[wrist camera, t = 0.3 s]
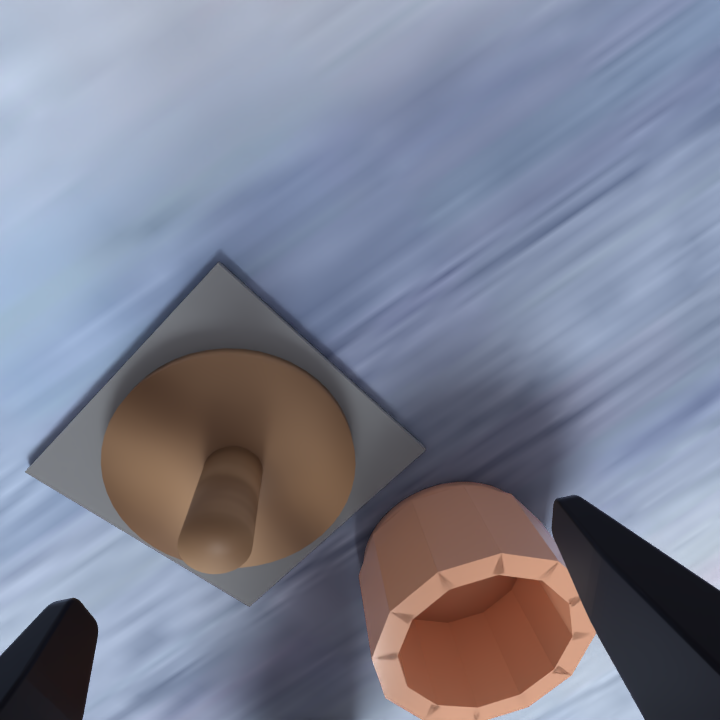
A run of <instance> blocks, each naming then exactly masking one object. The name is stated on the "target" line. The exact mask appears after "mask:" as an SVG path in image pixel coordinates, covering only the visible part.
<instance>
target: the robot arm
mask: <svg viewBox="0 0 720 720" xmlns="http://www.w3.org/2000/svg"><path fill="white" fill-rule="evenodd" d="M552 533H553V537H554V540H555V542H556V544H557V547H558V549H559V551H560V554H561V556H562V558H563V560H564V563H565V565H566V567H567V570H568V572H569V574H570V577H571V579H572V581H573V583H574V586H575V588H576V590H577V593H578V595H579V597H580V600H581V602H582V604H583V606H584V609H585V611H586V613H587V615H588V617H589V620H590V622H591V624H592V625H593V627H594V629H595V631H596V633H597V635H598V637H599V638H600V640H601V642H602V644H603V646H604V647H605V649H606V651H607V653H608V655H609V656H610V658H611V660H612V662H613V664H614V665H615V667H616V669H617V671H618V672H619V674H620V676H621V678H622V680H623V681H624V683H625V685H626V687H627V689H628V690H629V692H630V694H631V696H632V698H633V699H634V701H635V703H636V705H637V707H638V708H639V710H640V712H641V714H642V715H643V717H644V719H645V720H720V590H718V589H717V588H715V587H714V586H712V585H711V584H709V583H708V582H706V581H705V580H703V579H702V578H700V577H699V576H697V575H696V574H694V573H693V572H691V571H690V570H688V569H687V568H685V567H684V566H683V565H681V564H680V563H678V562H677V561H675V560H674V559H672V558H671V557H669V556H668V555H666V554H665V553H663V552H662V551H660V550H659V549H657V548H656V547H654V546H653V545H651V544H650V543H648V542H647V541H645V540H644V539H642V538H641V537H639V536H638V535H636V534H635V533H633V532H632V531H631V530H629V529H628V528H626V527H625V526H623V525H622V524H620V523H619V522H617V521H616V520H614V519H613V518H611V517H610V516H608V515H607V514H605V513H604V512H602V511H601V510H599V509H598V508H596V507H595V506H593V505H592V504H590V503H589V502H587V501H586V500H584V499H583V498H581V497H579V496H577V495H571V496H566V497H561V498H557V499H556V500H555V501H554V506H553V517H552ZM97 638H98V625H97V622H96V620H95V619H94V618H93V616H92V615H91V614H90V613H89V611H88V610H87V609H86V608H85V607H84V605H83V604H82V603H81V602H80V601H79V600H78V599H76V598H70V599H65V600H60V601H56V602H53V603H51V604H50V605H48V606H47V607H46V608H45V609H44V610H43V611H42V612H41V613H40V614H39V616H38V617H37V618H36V619H35V620H34V621H33V622H32V623H31V624H30V625H29V626H28V627H27V628H26V629H25V630H24V631H23V632H22V633H21V635H20V636H19V637H18V638H17V639H16V640H15V641H14V642H13V643H12V644H11V645H10V646H9V647H8V648H7V649H6V650H5V651H4V652H3V654H2V655H1V656H0V720H82V719H83V714H84V709H85V704H86V698H87V693H88V687H89V682H90V676H91V671H92V665H93V660H94V654H95V649H96V643H97Z"/></svg>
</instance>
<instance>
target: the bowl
mask: <svg viewBox="0 0 720 720" xmlns="http://www.w3.org/2000/svg"><path fill="white" fill-rule="evenodd" d="M359 581H360V588H361V594H362V600H363V607H364V613H365V620H366V626H367V632H368V639H369V645H370V651H371V658H372V661H373V664H374V667H375V670H376V673H377V675H378V678H379V681H380V684H381V687H382V690H383V692H384V695H385V698H386V699H388V700H390V701H391V702H393V703H395V704H396V705H398V706H400V707H401V708H403V709H405V710H407V711H408V712H410V713H412V714H413V715H415V716H417V717H418V718H420V719H422V720H488V719H491V718H495V717H498V716H501V715H504V714H507V713H511V712H514V711H517V710H520V709H524V708H527V707H529V706H530V705H532V704H533V703H534V702H536V701H537V700H538V699H540V698H541V697H543V696H544V695H545V694H547V693H548V692H549V691H551V690H552V689H553V688H555V687H556V686H558V685H559V684H560V683H562V682H563V681H564V680H566V679H567V678H568V677H570V676H571V675H572V674H573V672H574V670H575V668H576V667H577V665H578V663H579V662H580V660H581V658H582V656H583V655H584V653H585V651H586V650H587V648H588V646H589V644H590V643H591V641H592V639H593V638H594V636H595V634H596V631H595V629H594V627H593V625H592V624H591V622H590V620H589V617H588V615H587V613H586V611H585V609H584V606H583V604H582V602H581V600H580V597H579V595H578V593H577V590H576V588H575V586H574V583H573V581H572V579H571V577H570V574H569V572H568V570H567V567H566V565H565V563H564V560H563V558H562V556H561V554H560V551H559V549H558V547H557V544H556V542H555V540H554V539H553V538H552V536H551V535H550V534H549V532H548V531H547V530H546V528H545V527H544V525H543V524H542V523H541V521H540V520H538V519H537V518H536V517H535V516H534V515H533V514H532V513H531V512H530V511H529V510H528V509H527V508H526V507H525V506H524V505H523V504H521V503H520V502H519V501H518V500H517V499H516V498H515V497H514V496H513V495H512V494H510V493H506V492H504V491H502V490H501V489H498V488H496V487H493V486H491V485H487V484H482V483H476V482H451V483H444V484H440V485H436V486H432V487H429V488H426V489H424V490H421V491H419V492H417V493H415V494H413V495H411V496H409V497H407V498H406V499H404V500H403V501H401V502H400V503H398V504H397V505H396V506H395V507H393V508H392V509H391V510H390V511H389V512H388V513H387V514H386V515H385V516H384V517H383V518H382V519H381V520H380V522H379V523H378V524H377V525H376V527H375V529H374V530H373V532H372V534H371V535H370V538H369V540H368V542H367V545H366V549H365V553H364V561H363V564H362V567H361V570H360V573H359Z"/></svg>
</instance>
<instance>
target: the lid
mask: <svg viewBox="0 0 720 720" xmlns="http://www.w3.org/2000/svg"><path fill="white" fill-rule="evenodd" d="M355 465H356V463H355V450H354V445H353V441H352V436H351V431H350V427H349V425H348V422H347V419H346V417H345V414H344V413H343V411H342V409H341V407H340V405H339V404H338V402H337V401H336V399H335V398H334V397H333V395H332V394H331V393H330V391H329V390H328V389H327V388H326V387H325V386H324V385H323V384H322V383H321V382H320V381H319V380H317V379H316V378H315V377H313V376H312V375H311V374H309V373H308V372H307V371H305V370H304V369H302V368H300V367H298V366H297V365H295V364H293V363H291V362H289V361H287V360H284V359H282V358H280V357H277V356H274V355H270V354H267V353H263V352H259V351H253V350H247V349H230V348H224V349H212V350H205V351H200V352H196V353H191V354H188V355H185V356H183V357H180V358H177V359H174V360H172V361H170V362H168V363H166V364H164V365H162V366H160V367H159V368H157V369H156V370H154V371H153V372H152V373H150V374H149V375H147V376H146V377H145V378H144V379H143V380H142V381H141V382H139V383H138V384H137V385H136V386H135V387H134V388H133V389H132V391H131V392H130V393H129V394H128V395H127V397H126V398H125V399H124V400H123V402H122V403H121V404H120V405H119V406H118V408H117V409H116V411H115V413H114V415H113V416H112V418H111V420H110V422H109V424H108V427H107V430H106V432H105V435H104V439H103V444H102V449H101V470H102V477H103V482H104V485H105V488H106V492H107V494H108V496H109V499H110V501H111V503H112V505H113V507H114V508H115V510H116V511H117V513H118V514H119V516H120V517H121V519H122V520H123V521H124V522H125V523H126V524H127V525H128V527H129V528H130V529H131V530H132V531H133V532H135V533H136V534H137V535H138V536H139V537H140V538H141V539H143V540H144V541H145V542H147V543H148V544H150V545H151V546H153V547H154V548H156V549H158V550H160V551H162V552H164V553H165V554H167V555H170V556H172V557H175V558H177V559H180V560H182V561H184V562H185V563H186V564H187V565H188V566H189V567H191V568H193V569H194V570H197V571H199V572H202V573H207V574H223V573H227V572H230V571H233V570H235V569H237V568H243V567H251V566H258V565H262V564H266V563H271V562H274V561H277V560H280V559H282V558H285V557H287V556H290V555H292V554H294V553H296V552H298V551H300V550H301V549H303V548H305V547H306V546H308V545H309V544H311V543H312V542H314V541H315V540H316V539H317V538H319V537H320V536H321V535H322V534H323V533H324V532H325V531H326V530H327V529H328V528H329V527H330V526H331V525H332V524H333V523H334V521H335V520H336V519H337V517H338V516H339V515H340V513H341V511H342V510H343V508H344V506H345V504H346V503H347V500H348V498H349V495H350V493H351V490H352V486H353V481H354V477H355Z"/></svg>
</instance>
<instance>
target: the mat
mask: <svg viewBox="0 0 720 720" xmlns="http://www.w3.org/2000/svg"><path fill="white" fill-rule="evenodd" d="M224 348H230V349H247V350H253V351H259V352H263V353H267V354H270V355H274V356H277V357H280V358H282V359H284V360H287V361H289V362H291V363H293V364H295V365H297V366H298V367H300V368H302V369H304V370H305V371H307V372H308V373H309V374H311V375H312V376H313V377H315V378H316V379H317V380H319V381H320V382H321V383H322V384H323V385H324V386H325V387H326V388H327V389H328V390H329V391H330V393H331V394H332V395H333V397H334V398H335V399H336V401H337V402H338V404H339V405H340V407H341V409H342V411H343V413H344V414H345V417H346V419H347V422H348V425H349V427H350V431H351V436H352V441H353V445H354V450H355V463H356V465H355V477H354V481H353V486H352V490H351V493H350V495H349V498H348V500H347V503H346V504H345V506H344V508H343V510H342V511H341V513H340V515H339V516H338V517H337V519H336V520H335V521H334V523H333V524H332V525H331V526H330V527H329V528H328V529H327V530H326V531H325V532H324V533H323V534H322V535H321V536H320V537H319V538H317V539H316V540H315V541H314V542H312V543H311V544H309V545H308V546H306V547H305V548H303V549H301V550H300V551H298V552H296V553H294V554H292V555H290V556H287V557H285V558H282V559H280V560H277V561H274V562H271V563H266V564H262V565H258V566H251V567H243V568H237V569H235V570H233V571H230V572H227V573H223V574H207V573H202V572H199V571H197V570H194V569H193V568H191V567H189V566H188V565H187V564H186V563H185V562H184V561H182V560H180V559H177V558H175V557H172V556H170V555H167V554H165V553H164V552H162V551H160V550H158V549H156V548H154V547H153V546H151V545H150V544H148V543H147V542H145V541H144V540H143V539H141V538H140V537H139V536H138V535H137V534H136V533H135V532H133V531H132V530H131V529H130V528H129V527H128V525H127V524H126V523H125V522H124V521H123V520H122V519H121V517H120V516H119V514H118V513H117V511H116V510H115V508H114V507H113V505H112V503H111V501H110V499H109V496H108V494H107V492H106V488H105V485H104V482H103V477H102V470H101V449H102V444H103V439H104V435H105V432H106V430H107V427H108V424H109V422H110V420H111V418H112V416H113V415H114V413H115V411H116V409H117V408H118V406H119V405H120V404H121V403H122V402H123V400H124V399H125V398H126V397H127V395H128V394H129V393H130V392H131V391H132V389H133V388H134V387H135V386H136V385H137V384H138V383H139V382H141V381H142V380H143V379H144V378H145V377H146V376H147V375H149V374H150V373H152V372H153V371H154V370H156V369H157V368H159V367H160V366H162V365H164V364H166V363H168V362H170V361H172V360H174V359H177V358H180V357H183V356H185V355H188V354H191V353H196V352H200V351H205V350H212V349H224ZM425 450H426V449H425V447H424V446H423V445H422V444H421V443H420V442H419V441H418V440H417V439H416V438H414V437H413V436H412V435H411V434H410V433H409V432H408V431H407V430H406V429H404V428H403V427H402V426H401V425H400V424H399V423H398V422H397V421H396V420H394V419H393V418H392V417H391V416H390V415H389V414H388V413H387V412H386V411H385V410H383V409H382V408H381V407H380V406H379V405H378V404H377V403H376V402H375V401H373V400H372V399H371V398H370V397H369V396H368V395H367V394H366V393H365V392H363V391H362V390H361V389H360V388H359V387H358V386H357V385H356V384H355V383H353V382H352V381H351V380H350V379H349V378H348V377H347V376H346V375H345V374H343V373H342V372H341V371H340V370H339V369H338V368H337V367H336V366H335V365H334V364H332V363H331V362H330V361H329V360H328V359H327V358H326V357H325V356H324V355H322V354H321V353H320V352H319V351H318V350H317V349H316V348H315V347H314V346H312V345H311V344H310V343H309V342H308V341H307V340H306V339H305V338H304V337H302V336H301V335H300V334H299V333H298V332H297V331H296V330H295V329H294V328H292V327H291V326H290V325H289V324H288V323H287V322H286V321H285V320H284V319H282V318H281V317H280V316H279V315H278V314H277V313H276V312H275V311H274V310H273V309H271V308H270V307H269V306H268V305H267V304H266V303H265V302H264V301H263V300H261V299H260V298H259V297H258V296H257V295H256V294H255V293H254V292H253V291H251V290H250V289H249V288H248V287H247V286H246V285H245V284H244V283H243V282H241V281H240V280H239V279H238V278H237V277H236V276H235V275H234V274H233V273H231V272H230V271H229V270H228V269H227V268H226V267H225V266H224V265H223V264H221V263H220V262H218V263H217V264H216V265H215V267H214V268H213V269H212V270H211V271H210V272H209V273H208V274H207V275H206V276H205V277H204V278H203V280H202V281H201V282H200V283H199V284H198V285H197V286H196V287H195V288H194V289H193V290H192V291H191V293H190V294H189V295H188V296H187V297H186V298H185V299H184V300H183V301H182V302H181V303H180V304H179V306H178V307H177V308H176V309H175V310H174V311H173V312H172V313H171V314H170V315H169V316H168V317H167V319H166V320H165V321H164V322H163V323H162V324H161V325H160V326H159V327H158V328H157V329H156V330H155V332H154V333H153V334H152V335H151V336H150V337H149V338H148V339H147V340H146V341H145V342H144V343H143V344H142V346H141V347H140V348H139V349H138V350H137V351H136V352H135V353H134V354H133V355H132V356H131V357H130V359H129V360H128V361H127V362H126V363H125V364H124V365H123V366H122V367H121V368H120V369H119V370H118V372H117V373H116V374H115V375H114V376H113V377H112V378H111V379H110V380H109V381H108V382H107V383H106V385H105V386H104V387H103V388H102V389H101V390H100V391H99V392H98V393H97V394H96V395H95V396H94V398H93V399H92V400H91V401H90V402H89V403H88V404H87V405H86V406H85V407H84V408H83V409H82V411H81V412H80V413H79V414H78V415H77V416H76V417H75V418H74V419H73V420H72V421H71V422H70V424H69V425H68V426H67V427H66V428H65V429H64V430H63V431H62V432H61V433H60V434H59V435H58V437H57V438H56V439H55V440H54V441H53V442H52V443H51V444H50V445H49V446H48V447H47V448H46V450H45V451H44V452H43V453H42V454H41V455H40V456H39V457H38V458H37V459H36V460H35V461H34V463H33V464H32V465H31V466H30V467H29V468H28V469H27V470H26V471H25V472H26V473H27V474H29V475H31V476H32V477H34V478H36V479H37V480H39V481H41V482H42V483H44V484H46V485H47V486H49V487H51V488H52V489H54V490H56V491H57V492H59V493H61V494H62V495H64V496H66V497H67V498H69V499H71V500H72V501H74V502H76V503H77V504H79V505H81V506H82V507H84V508H86V509H87V510H89V511H91V512H92V513H94V514H96V515H97V516H99V517H101V518H102V519H104V520H106V521H107V522H109V523H111V524H112V525H114V526H115V527H117V528H119V529H120V530H122V531H124V532H125V533H127V534H129V535H130V536H132V537H134V538H135V539H137V540H139V541H140V542H142V543H144V544H145V545H147V546H149V547H150V548H152V549H154V550H155V551H157V552H159V553H160V554H162V555H164V556H165V557H167V558H169V559H170V560H172V561H174V562H175V563H177V564H179V565H180V566H182V567H184V568H185V569H187V570H189V571H190V572H192V573H194V574H195V575H197V576H199V577H200V578H202V579H204V580H205V581H207V582H209V583H210V584H212V585H214V586H215V587H217V588H219V589H220V590H222V591H224V592H225V593H227V594H229V595H230V596H232V597H234V598H235V599H237V600H239V601H240V602H242V603H244V604H245V605H247V606H249V607H250V606H251V605H252V604H253V603H254V602H256V601H257V600H258V599H259V598H260V597H261V596H262V595H263V594H265V593H266V592H267V591H268V590H269V589H270V588H271V587H272V586H274V585H275V584H276V583H277V582H278V581H279V580H280V579H281V578H283V577H284V576H285V575H286V574H287V573H288V572H289V571H290V570H292V569H293V568H294V567H295V566H296V565H297V564H298V563H299V562H301V561H302V560H303V559H304V558H305V557H306V556H307V555H308V554H309V553H311V552H312V551H313V550H314V549H315V548H316V547H317V546H318V545H320V544H321V543H322V542H323V541H324V540H325V539H326V538H327V537H329V536H330V535H331V534H332V533H333V532H334V531H335V530H336V529H338V528H339V527H340V526H341V525H342V524H343V523H344V522H345V521H347V520H348V519H349V518H350V517H351V516H352V515H353V514H354V513H356V512H357V511H358V510H359V509H360V508H361V507H362V506H363V505H365V504H366V503H367V502H368V501H369V500H370V499H371V498H372V497H374V496H375V495H376V494H377V493H378V492H379V491H380V490H381V489H383V488H384V487H385V486H386V485H387V484H388V483H389V482H390V481H392V480H393V479H394V478H395V477H396V476H397V475H398V474H399V473H401V472H402V471H403V470H404V469H405V468H406V467H407V466H408V465H410V464H411V463H412V462H413V461H414V460H415V459H416V458H417V457H419V456H420V455H421V454H422V453H423V452H424V451H425Z"/></svg>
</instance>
